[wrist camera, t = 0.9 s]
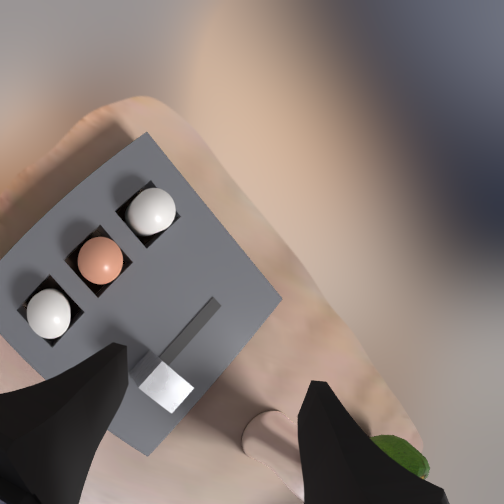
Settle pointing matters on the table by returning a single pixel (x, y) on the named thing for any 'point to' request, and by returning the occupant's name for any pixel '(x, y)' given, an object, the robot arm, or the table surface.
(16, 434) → the robot arm
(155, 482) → the table surface
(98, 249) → the middle button
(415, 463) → the avocado
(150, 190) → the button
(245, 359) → the table surface
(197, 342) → the control panel
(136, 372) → the slider knob
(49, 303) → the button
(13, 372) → the table surface
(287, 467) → the beer glass
